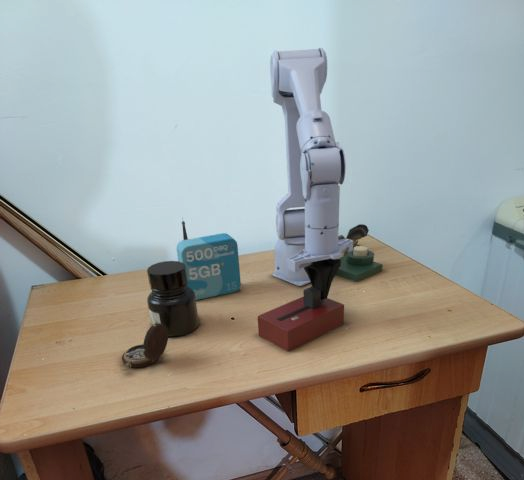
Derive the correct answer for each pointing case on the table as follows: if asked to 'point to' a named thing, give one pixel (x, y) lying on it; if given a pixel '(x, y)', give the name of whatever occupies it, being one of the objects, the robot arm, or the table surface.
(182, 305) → the ink bottle
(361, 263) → the button block
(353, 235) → the eagle figurine
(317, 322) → the slider base
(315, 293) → the slider knob
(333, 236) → the robot arm
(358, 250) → the button
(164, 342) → the compass
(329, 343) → the table surface
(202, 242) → the data package
